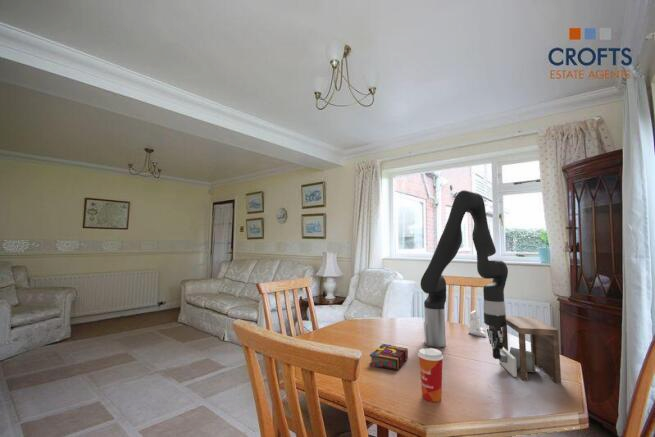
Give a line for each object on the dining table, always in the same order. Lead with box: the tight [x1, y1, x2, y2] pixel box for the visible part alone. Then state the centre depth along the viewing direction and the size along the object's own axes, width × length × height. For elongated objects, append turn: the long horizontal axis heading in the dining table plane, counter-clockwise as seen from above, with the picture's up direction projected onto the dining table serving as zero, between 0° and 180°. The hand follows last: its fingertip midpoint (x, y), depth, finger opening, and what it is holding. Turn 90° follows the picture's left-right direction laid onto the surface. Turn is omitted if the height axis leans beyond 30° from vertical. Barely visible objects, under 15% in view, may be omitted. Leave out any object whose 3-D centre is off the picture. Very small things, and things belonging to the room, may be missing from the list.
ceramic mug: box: [509, 346, 536, 373], centre depth 116 cm, size 11×8×8 cm
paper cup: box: [417, 347, 444, 403], centre depth 95 cm, size 8×8×14 cm
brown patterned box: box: [369, 343, 409, 371], centre depth 123 cm, size 11×16×5 cm
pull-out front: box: [498, 347, 518, 378], centre depth 115 cm, size 3×14×6 cm, turn 169°
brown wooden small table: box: [501, 315, 562, 384], centre depth 114 cm, size 12×18×18 cm, turn 169°
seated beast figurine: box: [467, 310, 487, 338], centre depth 160 cm, size 10×9×12 cm
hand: (496, 358), depth 116 cm, fingers closed
